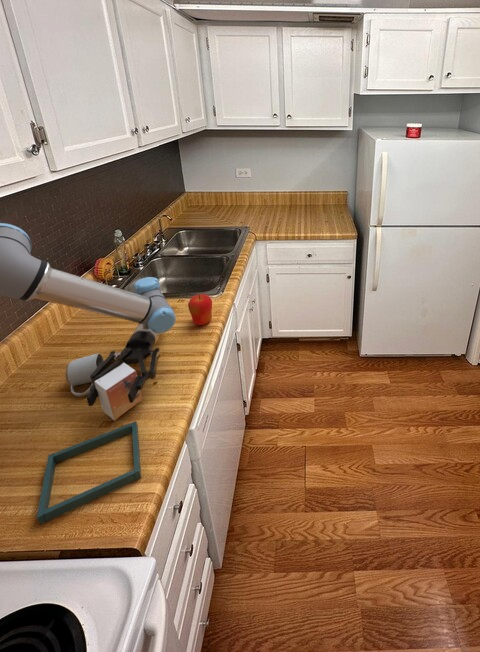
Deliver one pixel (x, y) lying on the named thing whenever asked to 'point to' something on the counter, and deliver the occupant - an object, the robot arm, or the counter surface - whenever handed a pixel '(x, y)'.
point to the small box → (117, 391)
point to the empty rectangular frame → (96, 492)
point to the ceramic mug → (82, 371)
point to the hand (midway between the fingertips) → (109, 400)
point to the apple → (200, 309)
